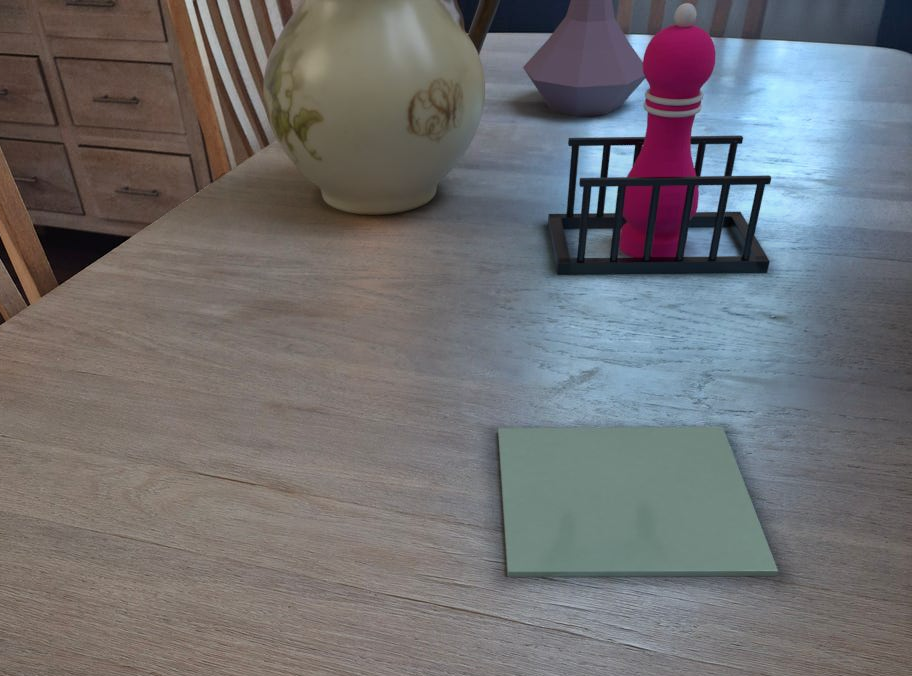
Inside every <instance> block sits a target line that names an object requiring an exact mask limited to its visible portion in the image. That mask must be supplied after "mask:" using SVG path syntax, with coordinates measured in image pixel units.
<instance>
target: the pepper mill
mask: <svg viewBox="0 0 912 676" xmlns="http://www.w3.org/2000/svg"><path fill="white" fill-rule="evenodd" d="M697 13H698V12H697V9H696V7H695V6H694V5H693V4H692V3H689V2H685V3H682V4H680V5H679V6H678V7H677V8H676V10H675V12H674V18H673V19H674V23H675V24H672V25H669V26H667V27H664V28H662V29H660V30H659V31H657V32H656V33H655V34H654V35H653V36H652V38H651V39H650V40H649V42H648V44H647V46H646V47H645V51H644V54H643V58H642V62H643V74H644V76H645V80H646V82H647V83H648V86H649V88H647V89H646V90H645V92H644V97H645V99H644V102H643V109H644V111H645V112H647V115H646V130H645V136H644V137H645V140H644V143H643V145H642V149H641V152H640V154H639V156H638V158H637V160H636V162H635V163H634V165H633V164H632V166H633V167H632V166H631V169H630V170H629V171H628V174H627V175H626V177H686V176H696V173H695V169H694V168H695V164H694V160H693V157H692V147H691V144H690V142H691V136H692V130H693V125H694V122H695V119H696V115H697V114H698V113H700V112H701V111H702V108H703V107H702V100H703V99H704V92H703V91H702V90H701V89H702V88H703V87H704V85H705V84H706V83H707V82H708V81H709V79H710V78H711V76H712V74H713V72H714V69H715V66H716V57H717V56H716V55H717V54H716V53H717V52H716V46H715V43H714V40H713V38H712V37H711V35H710V34H709V33H708V32H707V31H706V30H705V29H703V28H701V27H700V26H697V25H696V26H695V25H694V23H695V22H696V20H697V15H698V14H697ZM652 187H653V186H626V192H625V200H624V208H623V216H624V218H625V219H626V221H627V223H626V224H625V225H624V226H623V227H622V228H621V234H620V242H619V250H620V251H621V252H622V253H624V254H625V255H627V256H629V257H643V252H644V245H645V237H646V230H647V223H648V216H649V208H650V201H651V194H652ZM686 190H687V186H661V188H660V195H659V202H658V209H657V216H656V223H655V230H654V237H653V244H652V251H651V257H676V252H677V246H678V240H679V234H680V227H681V221H682V215H683V209H684V203H685V197H686ZM699 197H700V190H699V188H698V185H696V186H695V192H694V198H693V204H692V210H691V216H690V219H691V218H692V217H693V216H694V214H695V213H696V212H698V211H697V210H698V207H699ZM688 235H689V233H688V234H687V236H688ZM687 241H688V239H687V240H686V242H687ZM686 247H687V245H686V246H685V248H686Z"/></svg>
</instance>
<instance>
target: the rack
mask: <svg viewBox="0 0 912 676" xmlns="http://www.w3.org/2000/svg"><path fill="white" fill-rule="evenodd" d="M644 140H645V136H611V137H610V136H609V137H608V136H607V137H606V136H604V137H598V136H597V137H596V136H595V137H568V140H567V145H568V147H571V151H570V152H571V154H570V162H569V163H570V164H569V177H568V189H567V201H566V202H567V204H566V213H548V214H547V215H548V217H547V228H548V229H547V230H548V234H549V240H550V244H551V245H550V246H551V249H552V256H553V261H554V266H555V271H556V276H605V275H606V276H607V275H608V276H610V275H611V276H613V275H617V276H619V275H696V274H697V275H701V274H702V275H704V274H705V275H706V274H707V275H710V274H711V275H712V274H713V275H714V274H716V275H717V274H767V273H768V270H769V266H770V262H771V261H770V259H769V257H768V255H767V254H766V253H765V250H764V249H763V247H762V246H761V244H760V242H759V240H758V238H757V237H756V236H755V234H756V231H757V225H758V220H759V215H760V211H761V208H762V207H761V206H762V202H763V197H764V193H765V189H766V185H771V182H772V176H771V175H767V174H766V175H733V171H734V166H735V161H736V155H737V150H738V145H742V144H743V141H744V137H743V135H691V142H690V144H691V145H692V146H693V145H695V146H696V145H697V149H696V156H695V162H694V169H695V173H696V176H686V177H627V176H623V177H621V176H620V177H619V176H618V177H617V176H616V177H614V176H612V177H609V166H610V157H611V148H612V146H614V147H615V146H618V147H619V146H620V147H621V146H634V150H633V159H632V166H631V168H632V167H633V165H634V163H635V162H636V160H637V158H638V156H639V154H640V152H641V149H642V146H643V143H644ZM707 145H729V148H728V153H727V158H726V164H725V169H724V174H723V175H702V172H703V171H702V170H703V165H704V159H705V153H706V146H707ZM580 147H602V155H601V165H600V176H599V177H580V178H579V183H578V184H579V187H580V188H582V196H581V197H582V199H581V208H580V209H581V211H580V213H575V201H576V190H577V179H578V178H577V177H578V168H579V167H578V165H579V155H580V154H579V153H580ZM696 185H698V189H699V187H700V186H721V188H720V194H719V198H718V205H717V210H716V211H696V213H695V214H694V216H693V217H692V218H691V219H690V216H691V210H692V204H693V198H694V192H695V186H696ZM626 186H653V187H652V194H651V201H650V208H649V216H648V223H647V230H646V237H645V245H644V252H643V257H631V256H629V257H628V256H627V257H619V250H620V246H619V244H620V236H621V229H622V227H623V226H624V225H625V224H626V223H627V221H626V219H625V218H624V216H623V208H624V200H625V192H626ZM661 186H687V190H686V197H685V203H684V209H683V215H682V221H681V227H680V234H679V240H678V246H677V252H676V257H651V251H652V244H653V237H654V230H655V223H656V216H657V209H658V202H659V195H660V188H661ZM731 186H755V191H754V196H753V201H752V206H751V211H750V215H749V220H748V222H747V219H745V217H744V215H743V213H742V212H741V211H726V210H727V205H728V201H729V195H730V189H731ZM609 187H610V188H611V187H612V188H613V187H617V189H616V190H617V192H616V200H615V209H614V212H605V205H606V196H607V188H609ZM592 188H598V195H597V205H596V206H597V207H596V212H595V213H594V212H592V213H590V206H591V195H592ZM689 228H690V229H693V228H694V229H695V228H697V229H700V228H704V229H705V228H713V231H712V236H711V242H710V248H709V253H708V256H685V251H686V247H687V241H688V235H689ZM723 228H729V230H730V232H731V234H732V236H733V237H734V240H735V242H736V243H737V245H738V246H739V248H740V251H741V252H742V253H741V256H740V255H736V256H735V255H731V256H730V255H729V256H722V255H721V256H718V252H719V248H720V247H719V246H720V242H721V236H722V232H723ZM601 229H602V230H608V229H610V230H611V229H612V235H611V244H610V245H611V246H610V251H609V252H610V254H609V257H586V250H587V249H586V248H587V237H588V230H601ZM565 230H579V231H578V241H577V242H578V243H577V253H576V254H577V255H576V257H571V256H570V252H569V247H568V242H567V238H566V233H565ZM687 234H688V235H687ZM686 240H687V241H686ZM685 246H686V247H685Z"/></svg>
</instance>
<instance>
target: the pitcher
mask: <svg viewBox="0 0 912 676" xmlns="http://www.w3.org/2000/svg"><path fill="white" fill-rule="evenodd" d="M500 2H501V0H479V2H478V5H477V8H476V10H475V14H474V16H473V19H472V22H471V25H470V28H469V30H468V33H467V31H466V27H465V19H464V15H463V13H462V10H461V9H460V6H459V4H458V1H457V0H301V1H300V2H299V4H298V5H297V7H296V9H295V11H294V12H293V13H292V14H291V17H290V18H289V19H288V21H287V22H286V23H285V25H284V27H283V29H282V31H280V34H279V36H278V37H277V39H276V41H275V43H274V45H273V47H272V49H271V51H270V53H269V56H268V58H267V62H266V65H265V69H264V75H263V83H262V94H263V104H264V109H265V113H266V114H265V115H266V117H267V120H268V121H267V122H268V123H269V126H270V128H271V131H272V132H273V134H274V137H275V139H276V141H277V143H278V145H279V146H280V148H281V149H282V151H283V152H284V154H285V155H286V157H288V159H289V160H290V161H291V162H292V164H293V165H294V166H295V167H296V169H298V170H299V171H300V172H301V174H303V176H305V177H306V179H308V180H309V181H310V182H311V183H313V184H314V185H315V186H316V187H318V188H319V189H320V192H321V196H322V199H323V201H324V202H325V203H326V204H327V205H328V206H330V207H331V208H333V209H335V210H337V211H340V212H343V213H349V214H353V215H365V216H380V215H381V216H382V215H383V216H384V215H393V214H399V213H404V212H408V211H412V210H415V209H418V208H420V207H423V206H424V205H426V204H428V203H429V202H430V201H431V200H433V198H435V196H436V193H437V189H438V184H439V183H440V182H441V181H442V180H443V179H444V178H445V177H447V175H449V173H451V171H452V170H453V169H454V168H455V167H456V166H457V164H458V163H459V162H460V161H461V159H462V158H463V156H464V155H465V153H466V152H467V150H468V149H469V147H470V145H471V144H472V142H473V140H474V139H475V136H476V133H477V131H478V128H479V126H480V125H481V121H482V120H481V119H482V116H483V112H484V107H485V103H486V101H485V100H486V77H485V71H484V67H483V63H482V60H481V58H480V54H481V51H482V49H483V46H484V43H485V40H486V37H487V35H488V33H489V30H490V28H491V25H492V23H493V21H494V18H495V16H496V14H497V11H498V8H499V4H500Z"/></svg>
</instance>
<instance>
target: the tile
mask: <svg viewBox="0 0 912 676" xmlns="http://www.w3.org/2000/svg"><path fill="white" fill-rule="evenodd" d="M497 436H498V437H497V438H498V439H497V440H498V454H499V469H500V484H501V498H502V515H503V528H504V529H503V531H504V543H505V544H504V545H505V546H504V547H505V559H506V561H505V562H506V576H507V578H555V577H556V578H565V577H566V578H569V577H570V578H581V577H582V578H590V577H593V578H594V577H595V578H596V577H597V578H598V577H601V578H602V577H603V578H604V577H605V578H606V577H611V578H613V577H614V578H615V577H618V578H619V577H623V578H624V577H625V578H627V577H630V578H631V577H777V576H778V573H779V569H778V566H777V564H776V561H775V559H774V557H773V554H772V551H771V549H770V546H769V543H768V541H767V538H766V535H765V533H764V530H763V528H762V525H761V523H760V520H759V518H758V515H757V512H756V510H755V507H754V504H753V501H752V499H751V496H750V494H749V491H748V488H747V486H746V483H745V481H744V477H743V475H742V473H741V470H740V468H739V465H738V463H737V460H736V457H735V455H734V452H733V450H732V447H731V444H730V442H729V440H728V439H729V438H728V436H727V434H726V432H725V428H724V426H660V427H659V426H649V427H648V426H646V427H644V426H643V427H642V426H639V427H638V426H637V427H636V426H635V427H633V426H632V427H623V426H622V427H501V428H500V427H498V428H497Z"/></svg>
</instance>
